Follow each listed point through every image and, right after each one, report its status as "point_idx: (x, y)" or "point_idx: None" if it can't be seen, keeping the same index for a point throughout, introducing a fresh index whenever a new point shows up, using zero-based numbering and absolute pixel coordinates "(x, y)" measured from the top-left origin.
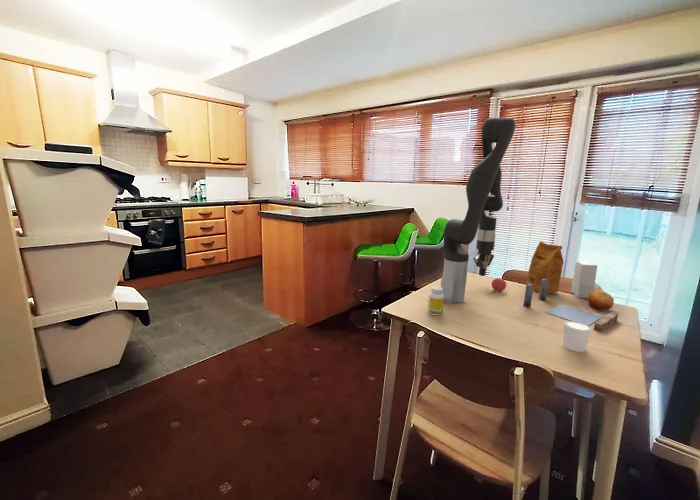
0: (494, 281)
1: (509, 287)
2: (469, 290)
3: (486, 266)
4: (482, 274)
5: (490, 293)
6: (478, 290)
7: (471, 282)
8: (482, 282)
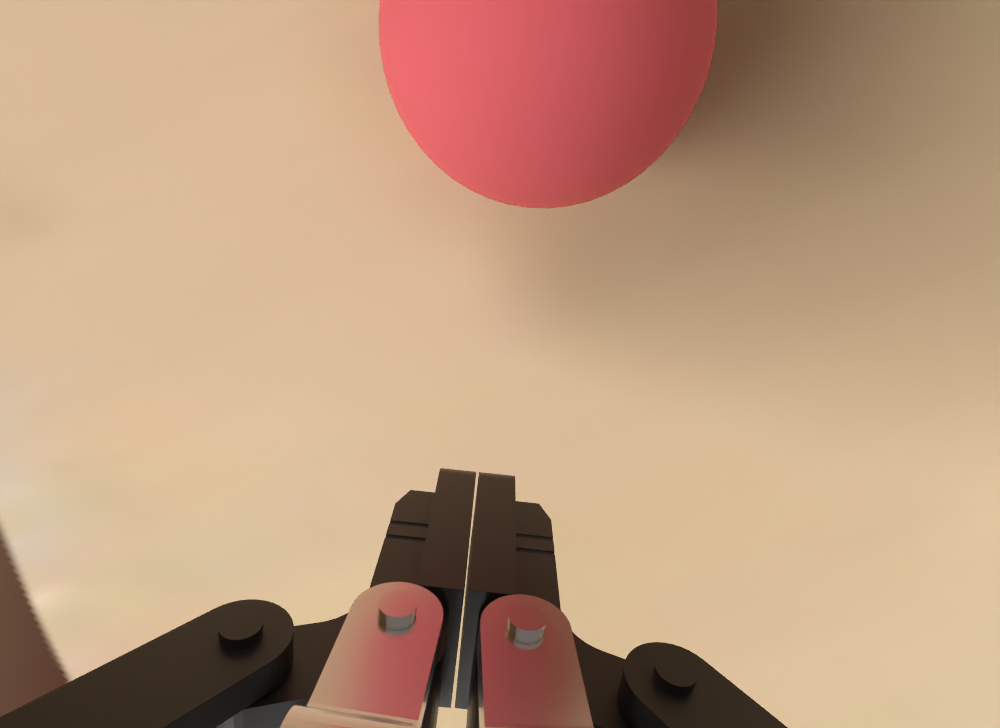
0: (682, 103)
1: (124, 12)
2: (891, 408)
3: (413, 616)
4: (524, 507)
5: (785, 93)
6: (779, 315)
7: None
8: (314, 465)
